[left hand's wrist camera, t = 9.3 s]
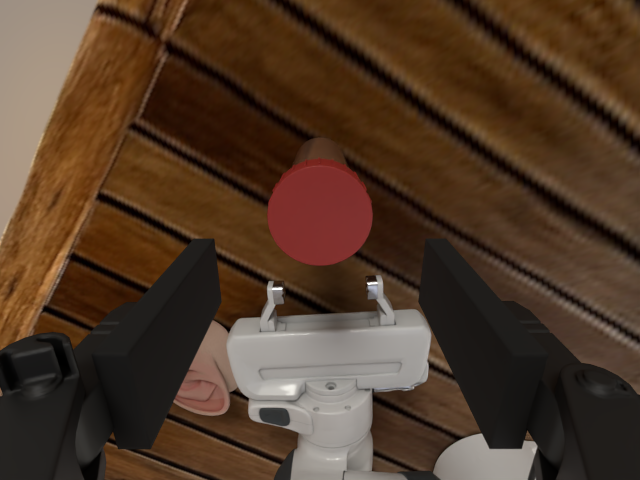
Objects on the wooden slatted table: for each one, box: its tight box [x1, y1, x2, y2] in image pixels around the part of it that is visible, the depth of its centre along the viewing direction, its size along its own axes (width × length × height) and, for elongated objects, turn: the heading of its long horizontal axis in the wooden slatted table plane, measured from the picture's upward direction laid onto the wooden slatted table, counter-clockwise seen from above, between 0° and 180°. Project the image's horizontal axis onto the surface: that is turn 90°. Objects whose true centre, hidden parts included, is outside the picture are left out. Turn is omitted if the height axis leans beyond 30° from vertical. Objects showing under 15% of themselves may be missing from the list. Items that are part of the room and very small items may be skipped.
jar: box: [291, 138, 349, 168], centre depth 29 cm, size 5×5×18 cm
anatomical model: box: [173, 320, 238, 415], centre depth 44 cm, size 13×4×12 cm
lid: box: [267, 158, 373, 266], centre depth 21 cm, size 6×6×2 cm
